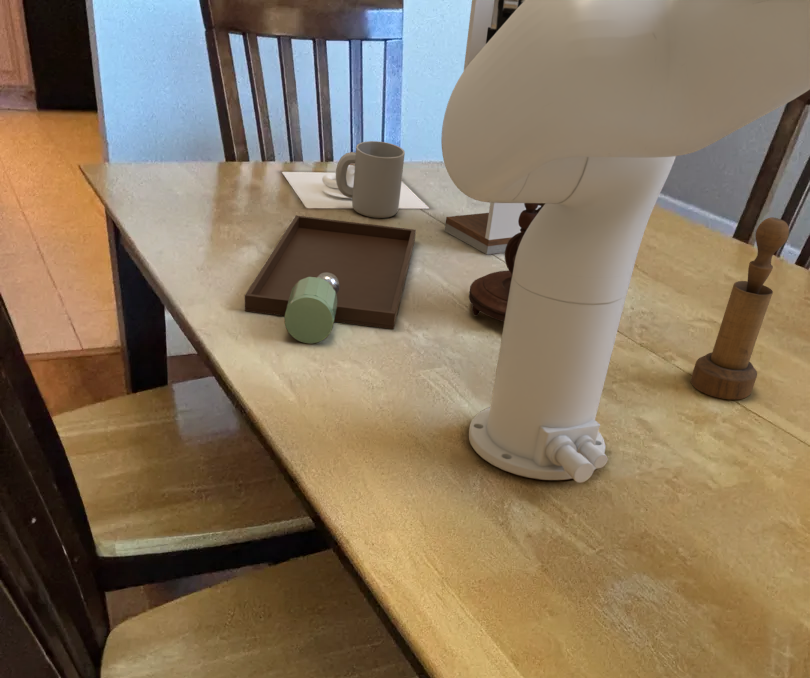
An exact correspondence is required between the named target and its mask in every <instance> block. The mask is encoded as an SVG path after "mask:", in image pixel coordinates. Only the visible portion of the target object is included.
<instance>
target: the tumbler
mask: <svg viewBox="0 0 810 678" xmlns="http://www.w3.org/2000/svg"><path fill="white" fill-rule="evenodd" d="M337 302H338V301H337V296H336V292H335V290H334V289H333V287H332V286H331V285H330V283H328V282H327V281H325V280H323V279H321V278H318V277H307V278H304V279H302V280H300V281H298V282H297V283H296V285H295V286H294V287H293V288H292V291H291V295H290V298H289V301H288V305H287V308H286V312H285V316H283V317H284V318H283V319H284V325H285V328H286V330H287V332H288V334H290V336H291V337H292V338H294V339H295V340H297V341H298V342H301V343H304V344H317V343H320V342H323V341H324V340H326V338H327V337H328V336H329V335H330V334H331V333H332V330H333V328H334V323H335V322H334V319H335V313H336V308H337Z"/></svg>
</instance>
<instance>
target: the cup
mask: <svg viewBox="0 0 810 678" xmlns="http://www.w3.org/2000/svg"><path fill="white" fill-rule="evenodd" d="M405 154H406V151H405V150H404V148H402V147H401V146H399V145H396V144H393V143H390V142H386V141H378V140H368V141H367V140H366V141H362V142H360V143H357V145H356V147H355V152H354V151H350V152H346V153H344V154H343V155H342V156H341V157H340V158H339V160H338V161H337V165H336V169H335V173H336V183H337V186H338V189H339V190H340V192H341V193H342V194H343V195H345V196H346V197H348V198H352V206H353V208H352V209H353V210H354V211H355V212H356V213H358V214H359V215H362V216H365V217H368V218H373V219H374V218H375V219H386V218H391V217H393V216H395V215H396V214H397V212H398V211H399V208H398V207H399V200H400V191H401V182H403V181H402V180H403V173H404V165H405ZM352 164H354V166H355V171H354V184H353V188H352V187H349V186H348V184H347V180H346V173H347V168H348V166H349V165H352Z"/></svg>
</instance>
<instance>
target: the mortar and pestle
mask: <svg viewBox="0 0 810 678" xmlns="http://www.w3.org/2000/svg"><path fill="white" fill-rule="evenodd" d="M754 234H755V235H754V236H755V242H756V249H757V256H756V257H755V258H754V260H752V261H750V262H749V263H748V269H747V272H748V273H747V280H739V281H735V282H734V283H733V285H732V287H731V291H730V295H729V298H728V301H727V304H726V308H725V310H724V313H723V317H722V320H721V324H720V325H719V326H720V327H719V330H718V333H717V336H716V340H715V341H714V346H713V349H712V352H709V353H706V354H705V355H703V356H700V357H699V358H698V359H697V360H696V361H695V364H694V367H693V371H692V372H691V376H690V384H691V385H692V386H693V387H694V388H695V390H698V391H699V392H701V393H703V394H705V395H707V396H710V397H714V398H718V399H722V400H734V401H735V400H742V399H746V398H747V397H748V396H750V395H751V394H752V392H753V389H754V387H755V383H756V380H757V377H758V371H757V369H756V368H755V367H754V365H753V364H752V362H750V360H751V358H752V355H753V351H754V349H755V345H756V342H757V340H758V336H759V333H760V330H761V328H762V324H763V322H764V319H765V316H766V313H767V310H768V308H769V304H770V301H771V299H772V296H773V293H774V291H773V289H772V288H770V287H769V286H767V285H764V284H765V283H766V281H767V279H768V278H769V276H770V275H771V273H772V271H773V269H774V266H773V265H772V260H773V259H772V258H773V257H774V255H775V253H776V252H777V251H778V250H780V248H781V247H783V246H784V244H785V243H786V242H787V241H788V238H789V236H790V228H789V225H788V223H787V221H785V220H783V219H781V218H778V217H767V218H765V219H763V220H762V221H761V223H759V224H758V226H757V228H756V231H755V233H754Z"/></svg>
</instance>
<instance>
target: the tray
mask: <svg viewBox="0 0 810 678" xmlns="http://www.w3.org/2000/svg"><path fill="white" fill-rule="evenodd" d="M416 231H417V230H416V229H415V228H414V229H412V228H405V227H397V226H396V227H394V226H387V225H381V224H380V225H379V224H370V223H362V222H355V221H347V220H339V219H329V218H322V217H314V216H306V215H295V216H294V217H293V219H292V221H291V222H290V224H289V225H288V227H287V229H286V230H285V232H284V233H283V234H282V236H281V238H280V240H279V241H278V243H277V244H276V246H275V247H274V249H273V250H272V252H271V253H270V255H269V256H268V258H267V259H266V261H265V263H264V265H263V266H262V268H261V269H260V271H258V274H257V275H256V277H255V278H254V279H253V282H252V283H251V285H250V286H249V288H248V289H247V291H246V292H245V294H244V311H245V312H249V313H259V314H264V315H265V314H267V315H275V316H281V317H282V316H283V317H285V312H286V308H287V305H288V301H289V298H290V295H291V291H292V288H293V287H294V286H295V285H296V283H297V282H298V281H300V280H302V279H304V278H307V277H318V276H319V275H320V274H322V273H325V272H329V273H332V274H334V275H335V276H336V277H337V278H338V280H339V283H340V288H339V291H338V293H337V294H336V296H337V301H338V302H337V308H336V313H335V319H334V323H341V324H347V325H356V326H366V327H373V328H379V329H380V328H381V329H391V330H394V329H395V325H396V323H397V317H398V313H399V309H400V305H401V301H402V296H403V293H404V289H405V285H406V280H407V276H408V272H409V268H410V265H411V264H410V263H411V260H412V256H413V251H414V246H415V241H416V233H417V232H416Z"/></svg>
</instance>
